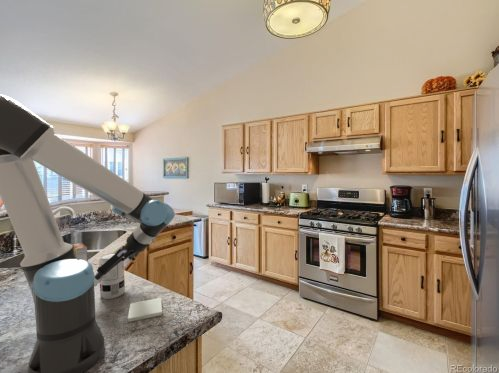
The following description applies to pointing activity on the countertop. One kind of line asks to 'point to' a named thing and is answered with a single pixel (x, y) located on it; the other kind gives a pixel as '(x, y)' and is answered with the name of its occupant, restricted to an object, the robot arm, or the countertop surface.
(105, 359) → the countertop surface
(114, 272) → the supplement can
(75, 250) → the candy box
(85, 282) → the robot arm
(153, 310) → the white square coaster
